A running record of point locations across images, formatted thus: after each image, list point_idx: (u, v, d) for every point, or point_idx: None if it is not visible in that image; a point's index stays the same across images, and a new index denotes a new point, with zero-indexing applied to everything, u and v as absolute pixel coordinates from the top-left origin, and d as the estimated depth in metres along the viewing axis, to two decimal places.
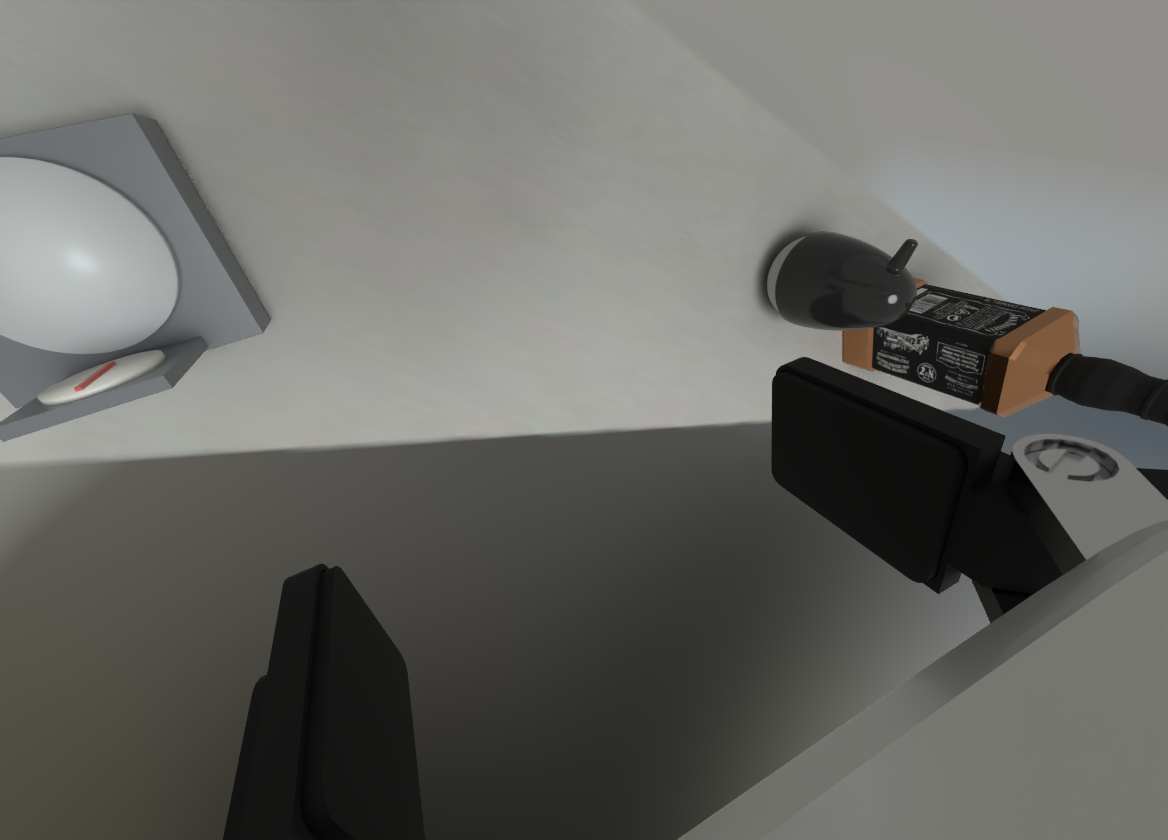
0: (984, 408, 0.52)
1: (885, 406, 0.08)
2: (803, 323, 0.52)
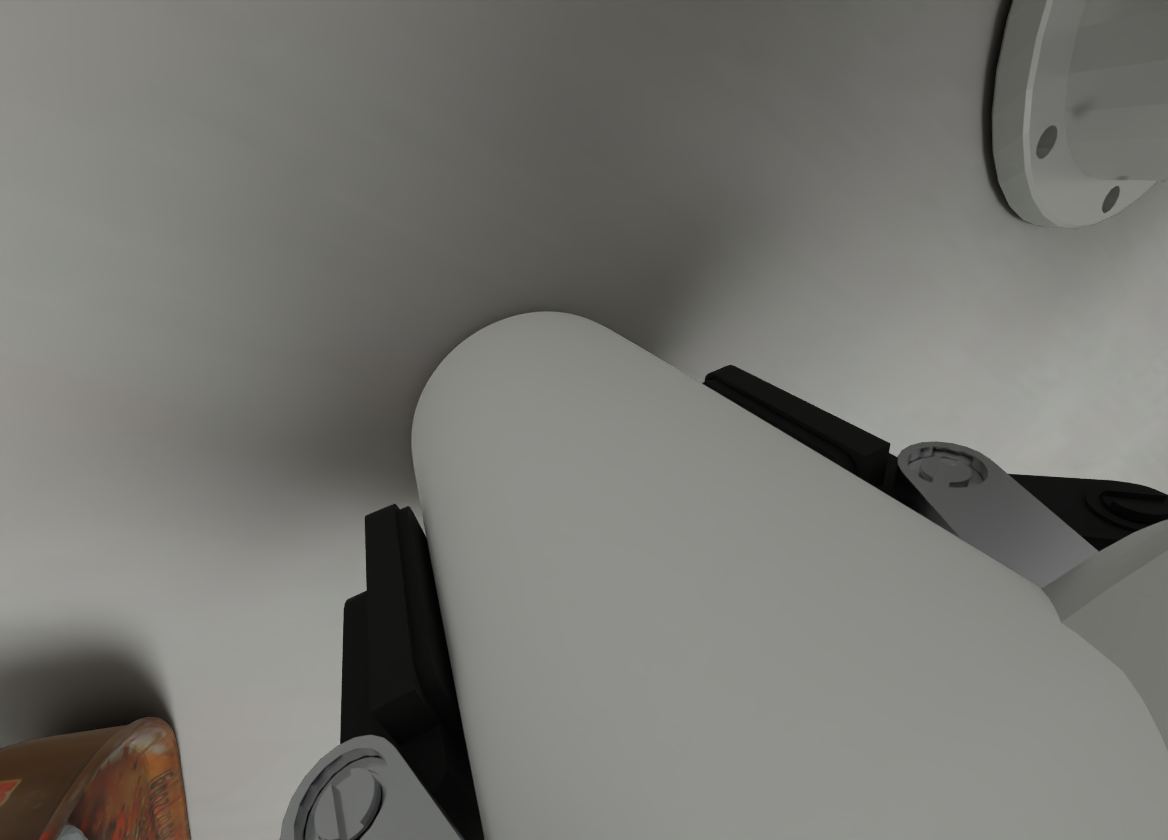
0: None
1: (791, 414, 0.08)
2: None
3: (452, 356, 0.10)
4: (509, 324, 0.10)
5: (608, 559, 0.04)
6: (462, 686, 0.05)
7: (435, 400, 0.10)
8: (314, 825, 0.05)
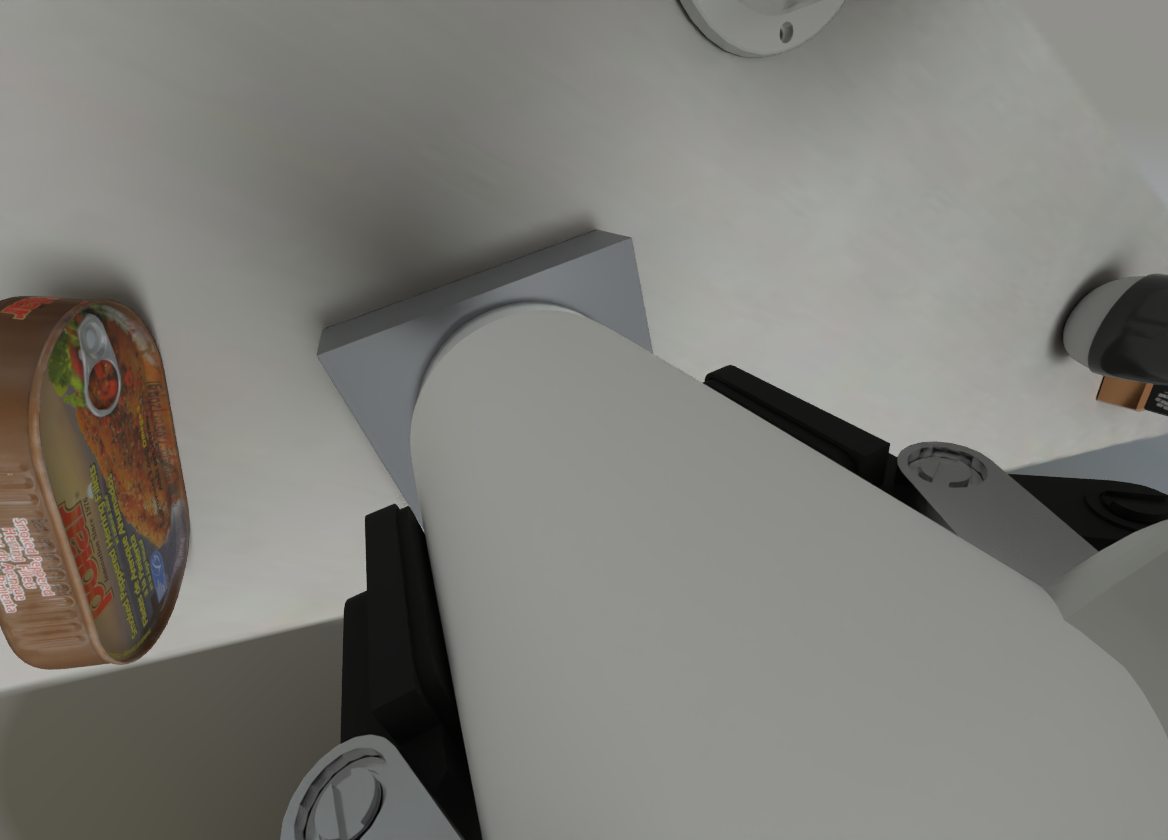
0: None
1: (791, 414, 0.08)
2: (1125, 377, 0.47)
3: (451, 355, 0.10)
4: (508, 323, 0.10)
5: (606, 558, 0.04)
6: (460, 684, 0.05)
7: (434, 399, 0.10)
8: (314, 825, 0.05)
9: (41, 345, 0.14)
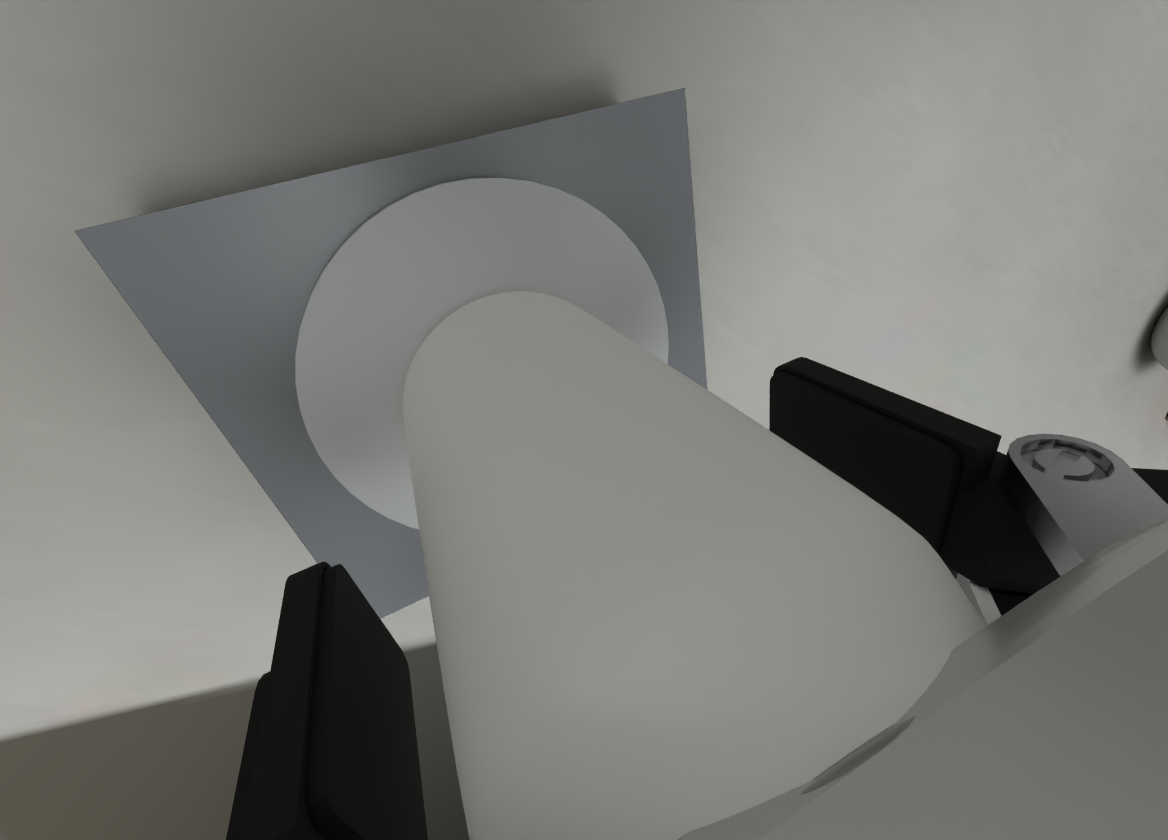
0: None
1: (882, 406, 0.08)
2: None
3: (438, 329, 0.12)
4: (488, 301, 0.12)
5: (535, 465, 0.06)
6: (430, 575, 0.07)
7: (422, 366, 0.11)
8: None
9: None
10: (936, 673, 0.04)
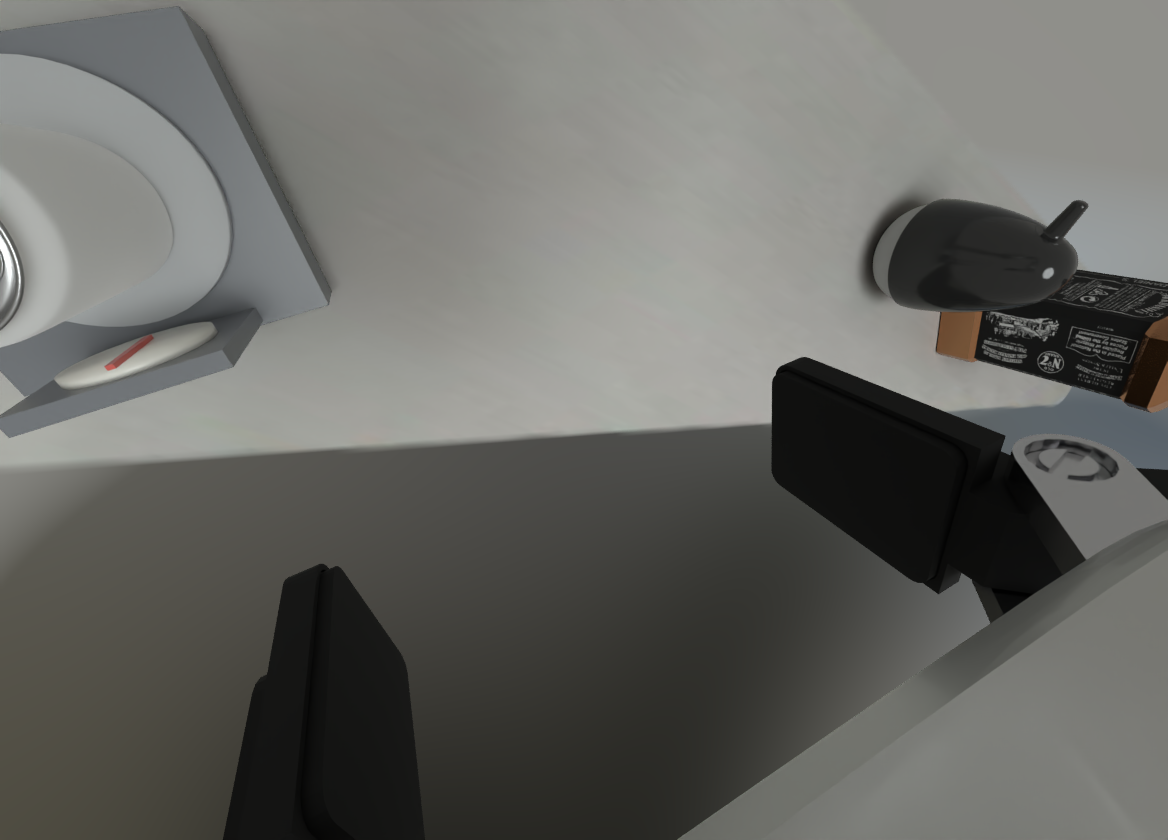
0: (1129, 402, 0.45)
1: (885, 406, 0.08)
2: (921, 304, 0.46)
3: None
4: None
5: None
6: None
7: None
8: None
9: None
10: None
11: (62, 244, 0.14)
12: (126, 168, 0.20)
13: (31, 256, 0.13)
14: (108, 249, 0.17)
